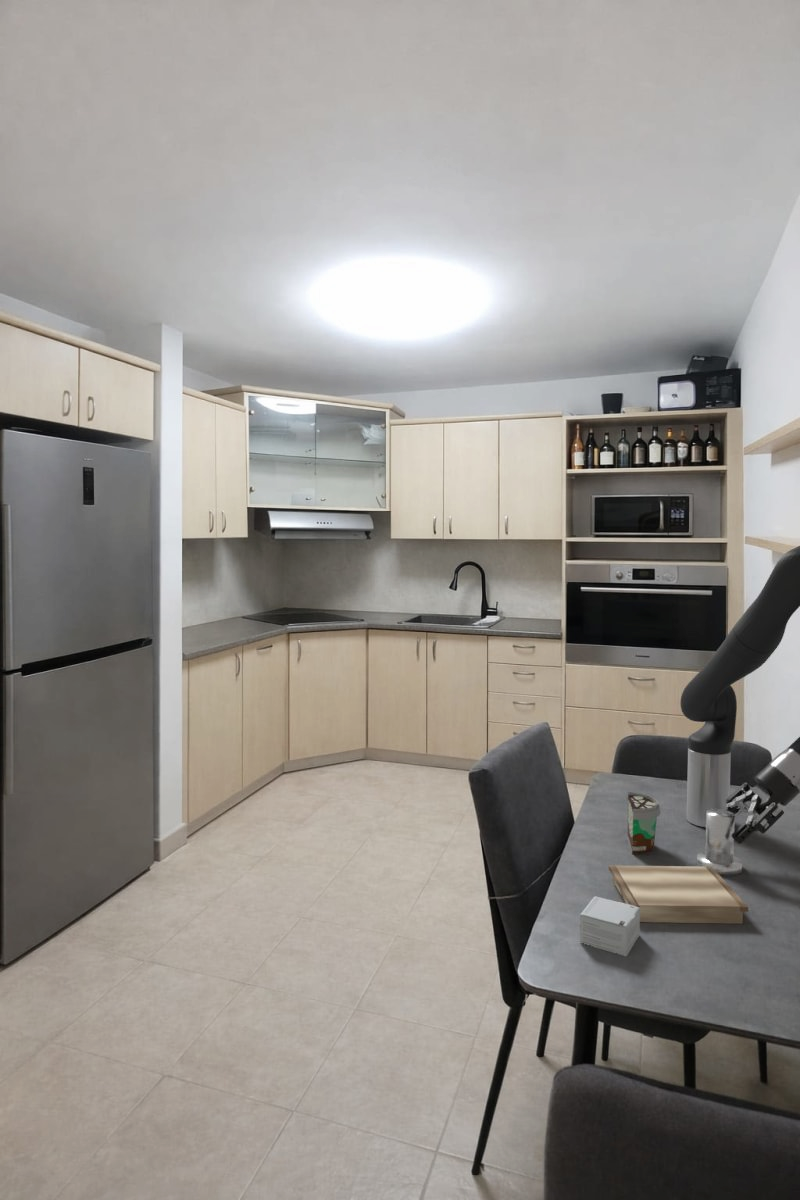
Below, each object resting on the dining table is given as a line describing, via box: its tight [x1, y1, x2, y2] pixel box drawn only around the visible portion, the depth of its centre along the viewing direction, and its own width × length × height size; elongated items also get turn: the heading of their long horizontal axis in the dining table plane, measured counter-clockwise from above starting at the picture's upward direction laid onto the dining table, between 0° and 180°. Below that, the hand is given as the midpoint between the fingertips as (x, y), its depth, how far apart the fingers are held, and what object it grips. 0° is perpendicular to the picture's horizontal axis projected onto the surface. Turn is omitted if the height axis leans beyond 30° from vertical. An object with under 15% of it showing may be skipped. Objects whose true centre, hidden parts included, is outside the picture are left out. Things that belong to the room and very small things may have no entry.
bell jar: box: [696, 809, 743, 877], centre depth 149 cm, size 8×8×11 cm
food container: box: [626, 791, 661, 855], centre depth 159 cm, size 12×6×10 cm, turn 168°
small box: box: [579, 896, 641, 957], centre depth 121 cm, size 8×8×5 cm
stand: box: [608, 864, 749, 925], centre depth 135 cm, size 16×20×3 cm
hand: (726, 832), depth 149 cm, fingers open, 8 cm apart
